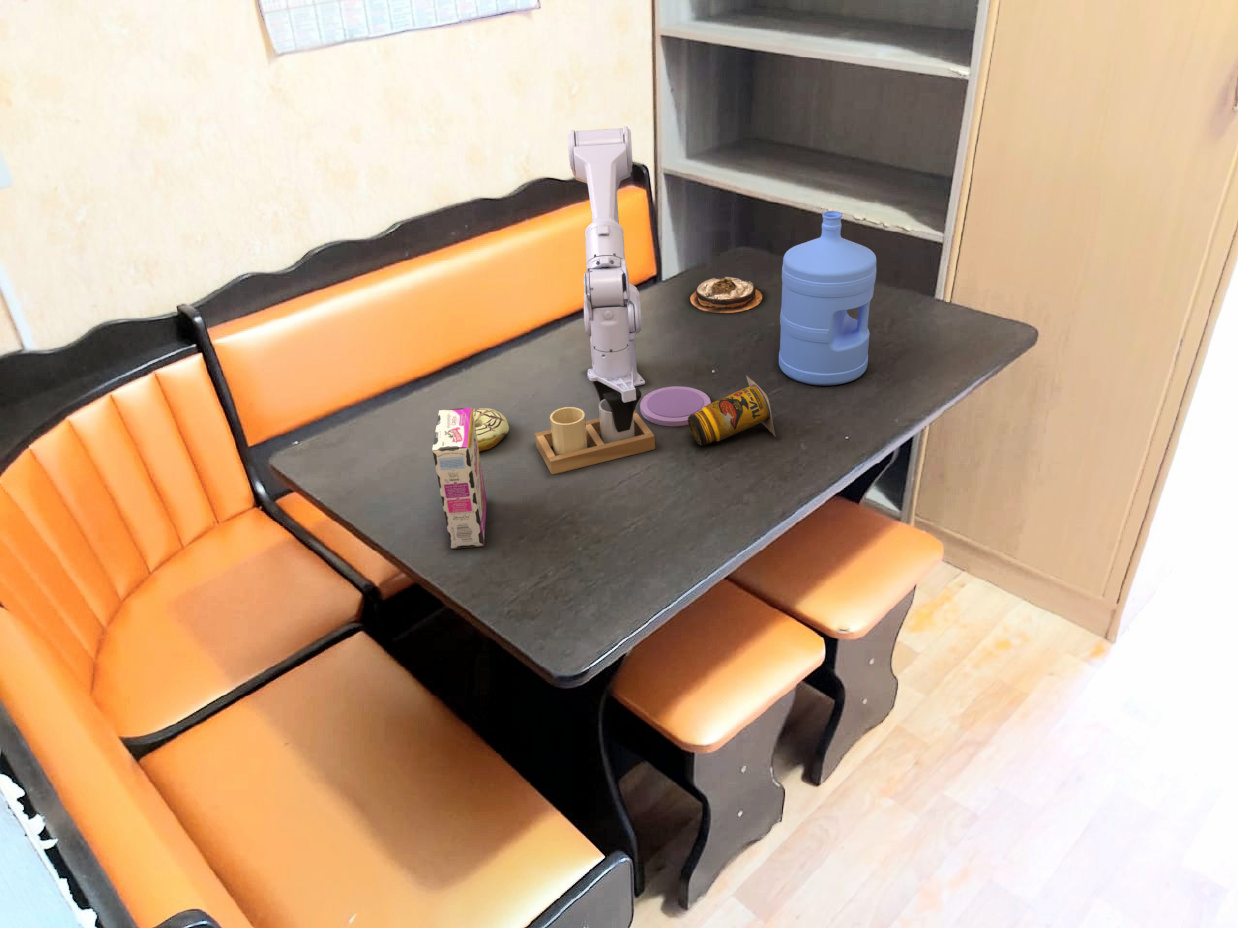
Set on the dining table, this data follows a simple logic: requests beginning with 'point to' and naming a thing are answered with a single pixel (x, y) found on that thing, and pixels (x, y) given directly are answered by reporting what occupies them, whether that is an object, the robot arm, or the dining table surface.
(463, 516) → the candy bar box
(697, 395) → the lavender plate
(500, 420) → the decorated donut
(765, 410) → the condiment
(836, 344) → the water jug
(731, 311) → the cake on plate
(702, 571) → the dining table surface
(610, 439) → the steel cup
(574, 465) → the cup rack
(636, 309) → the robot arm
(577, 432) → the beige cup
